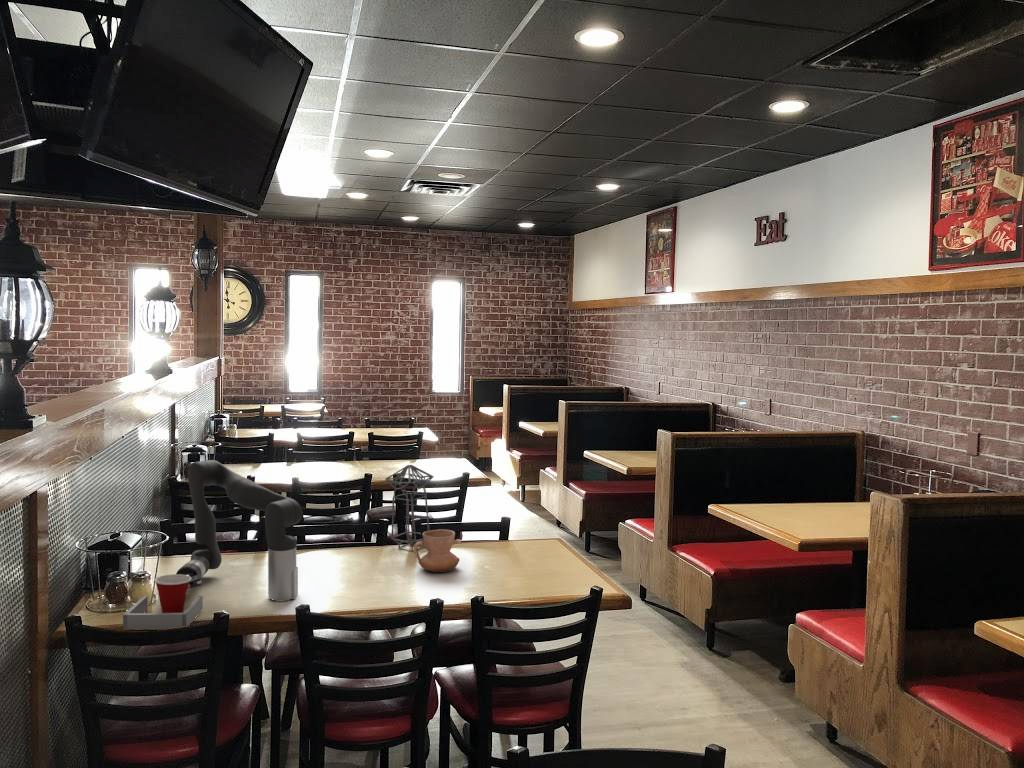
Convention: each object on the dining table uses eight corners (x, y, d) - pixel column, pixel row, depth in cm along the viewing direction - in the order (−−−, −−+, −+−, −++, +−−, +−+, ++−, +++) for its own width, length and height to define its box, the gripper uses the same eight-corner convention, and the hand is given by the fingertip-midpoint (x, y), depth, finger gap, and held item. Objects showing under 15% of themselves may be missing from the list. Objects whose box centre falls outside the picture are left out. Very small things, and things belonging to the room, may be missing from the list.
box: (202, 610, 256) (202, 595, 256) (186, 630, 240) (186, 614, 240) (143, 611, 254) (143, 596, 254) (123, 631, 238) (122, 615, 238)
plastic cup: (199, 611, 255) (199, 575, 254) (171, 623, 245) (171, 585, 244) (174, 605, 260) (174, 570, 259) (146, 616, 250) (146, 579, 249)
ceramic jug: (460, 563, 311) (459, 527, 310) (462, 574, 297) (462, 536, 296) (413, 565, 309) (413, 529, 308) (414, 576, 295) (413, 538, 294)
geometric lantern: (413, 555, 320) (411, 469, 317) (384, 549, 328) (382, 466, 326) (437, 546, 333) (436, 463, 330) (408, 540, 342) (407, 460, 339)
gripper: (171, 562, 272) (151, 578, 255) (210, 562, 273) (194, 578, 256) (171, 584, 273) (152, 601, 256) (210, 584, 274) (194, 601, 257)
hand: (173, 590), depth 256 cm, fingers closed
